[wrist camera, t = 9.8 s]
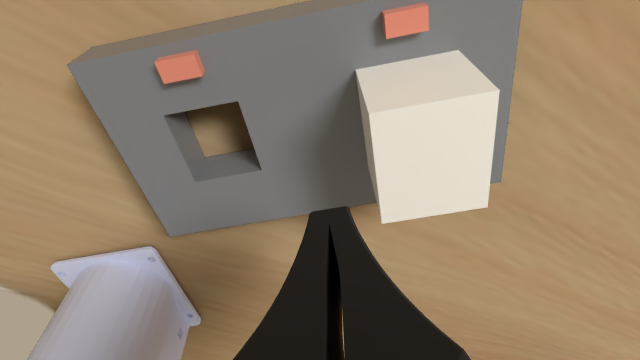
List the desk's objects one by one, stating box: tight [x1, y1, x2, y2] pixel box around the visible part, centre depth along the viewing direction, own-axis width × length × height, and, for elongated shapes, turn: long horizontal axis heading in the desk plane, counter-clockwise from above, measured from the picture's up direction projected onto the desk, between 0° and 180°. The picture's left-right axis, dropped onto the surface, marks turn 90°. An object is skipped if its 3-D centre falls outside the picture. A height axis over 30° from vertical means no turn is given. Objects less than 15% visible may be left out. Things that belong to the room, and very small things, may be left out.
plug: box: [356, 50, 500, 224], centre depth 18 cm, size 7×5×6 cm
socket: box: [67, 0, 523, 237], centre depth 20 cm, size 11×20×3 cm, turn 101°
